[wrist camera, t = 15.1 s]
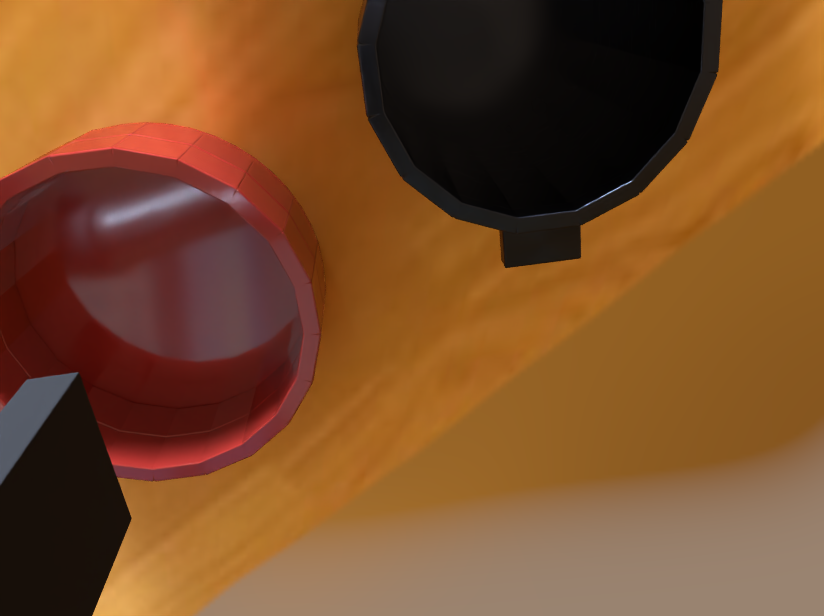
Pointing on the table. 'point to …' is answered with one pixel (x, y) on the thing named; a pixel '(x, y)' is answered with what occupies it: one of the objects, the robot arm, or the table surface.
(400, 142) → the black cylindrical cup
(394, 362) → the table surface
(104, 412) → the casserole
